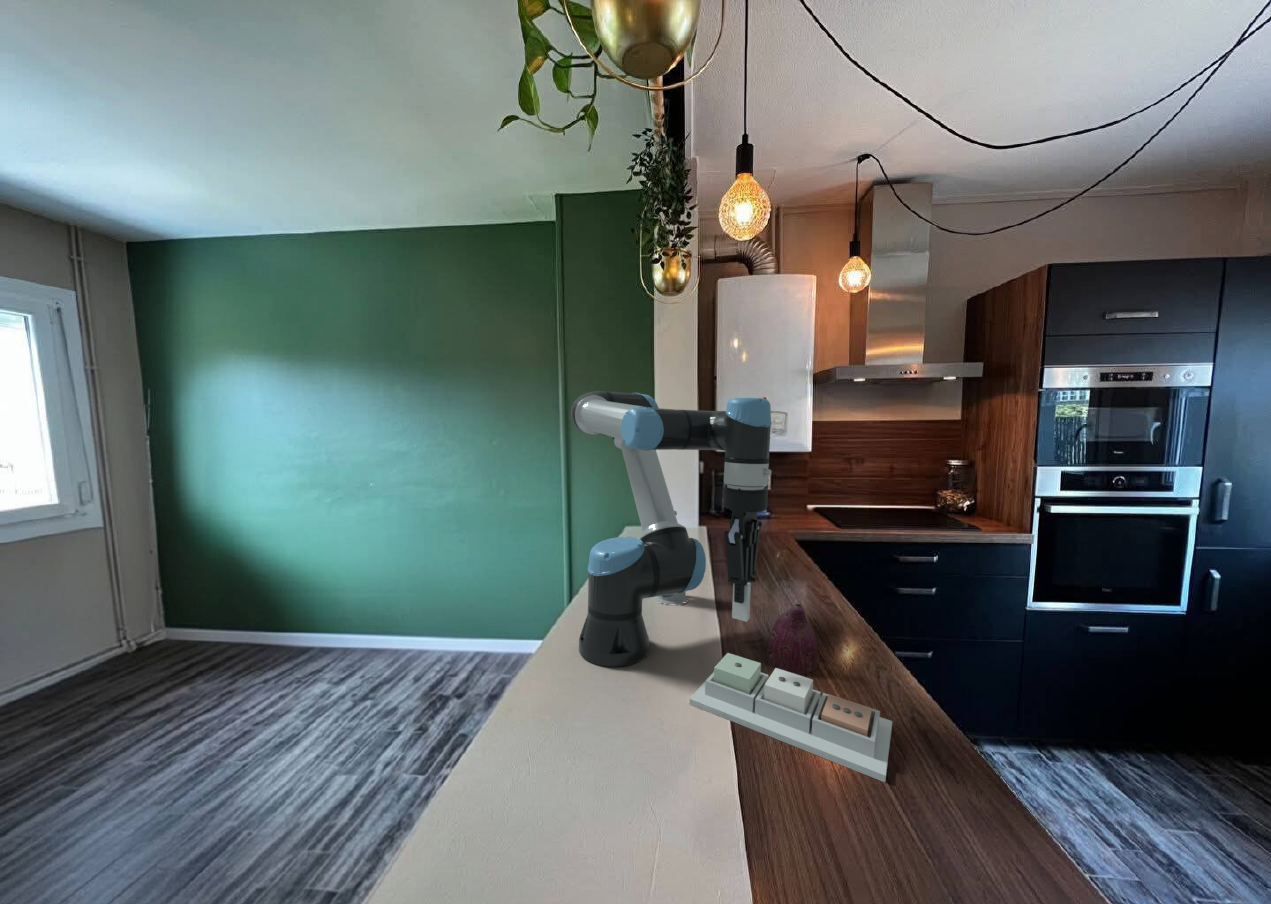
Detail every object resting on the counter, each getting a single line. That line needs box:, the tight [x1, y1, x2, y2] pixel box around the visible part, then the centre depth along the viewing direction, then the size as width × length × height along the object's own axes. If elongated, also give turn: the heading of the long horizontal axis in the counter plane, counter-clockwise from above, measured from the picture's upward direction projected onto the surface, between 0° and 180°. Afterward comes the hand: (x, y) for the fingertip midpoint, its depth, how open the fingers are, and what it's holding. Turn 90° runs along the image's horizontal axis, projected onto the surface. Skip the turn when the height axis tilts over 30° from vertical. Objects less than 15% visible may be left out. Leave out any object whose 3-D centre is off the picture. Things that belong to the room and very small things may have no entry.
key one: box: [713, 652, 762, 695], centre depth 81 cm, size 6×6×3 cm
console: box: [688, 671, 893, 783], centre depth 76 cm, size 30×14×4 cm, turn 57°
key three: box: [821, 693, 873, 737], centre depth 71 cm, size 6×6×3 cm
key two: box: [764, 667, 814, 714], centre depth 76 cm, size 6×6×3 cm
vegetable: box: [766, 602, 819, 675], centre depth 92 cm, size 10×10×15 cm
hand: (740, 618), depth 80 cm, fingers closed
